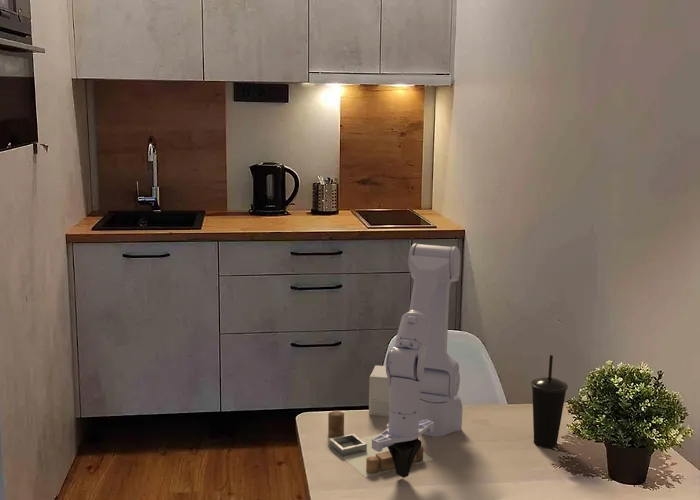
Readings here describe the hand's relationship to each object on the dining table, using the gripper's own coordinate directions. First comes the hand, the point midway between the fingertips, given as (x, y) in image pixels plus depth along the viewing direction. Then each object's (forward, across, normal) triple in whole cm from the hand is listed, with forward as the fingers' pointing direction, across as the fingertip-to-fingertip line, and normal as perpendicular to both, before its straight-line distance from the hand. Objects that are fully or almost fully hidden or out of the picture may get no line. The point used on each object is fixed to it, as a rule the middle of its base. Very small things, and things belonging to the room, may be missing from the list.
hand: (402, 475), depth 154 cm
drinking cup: (+2, -37, +6) cm, 38 cm away
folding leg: (+1, -4, -5) cm, 6 cm away
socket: (+1, 0, -17) cm, 17 cm away
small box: (+2, -20, -28) cm, 34 cm away
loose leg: (+2, -2, -24) cm, 24 cm away
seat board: (+2, -4, -11) cm, 12 cm away
